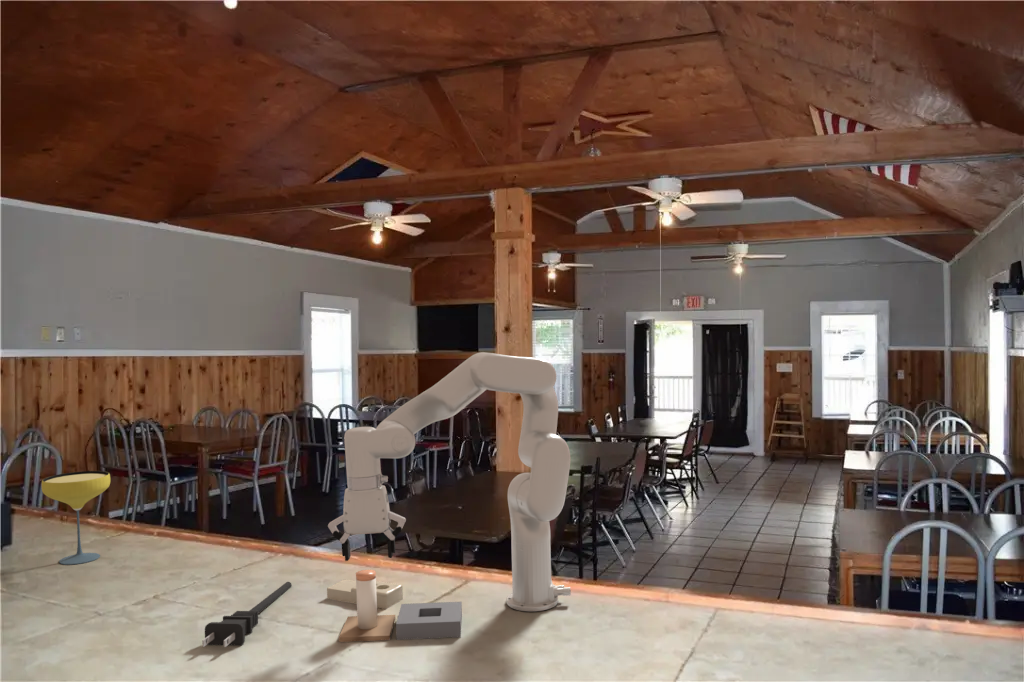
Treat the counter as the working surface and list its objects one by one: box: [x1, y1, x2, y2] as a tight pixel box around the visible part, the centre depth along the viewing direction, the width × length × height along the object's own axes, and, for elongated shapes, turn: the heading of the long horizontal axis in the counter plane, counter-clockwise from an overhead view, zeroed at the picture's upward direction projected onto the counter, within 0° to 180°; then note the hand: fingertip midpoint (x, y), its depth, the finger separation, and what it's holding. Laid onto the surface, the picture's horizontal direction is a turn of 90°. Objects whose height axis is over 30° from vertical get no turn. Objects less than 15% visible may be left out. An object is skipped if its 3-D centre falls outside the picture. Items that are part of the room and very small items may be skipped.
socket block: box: [395, 601, 463, 641], centre depth 178 cm, size 14×12×4 cm
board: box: [338, 614, 396, 643], centre depth 178 cm, size 11×12×1 cm
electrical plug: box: [201, 581, 293, 648], centre depth 187 cm, size 9×42×5 cm, turn 174°
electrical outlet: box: [326, 579, 404, 609], centre depth 198 cm, size 7×4×18 cm
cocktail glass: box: [41, 470, 111, 566], centre depth 236 cm, size 18×18×25 cm
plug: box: [355, 569, 378, 629], centre depth 178 cm, size 4×4×12 cm
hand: (369, 557), depth 178 cm, fingers open, 9 cm apart
